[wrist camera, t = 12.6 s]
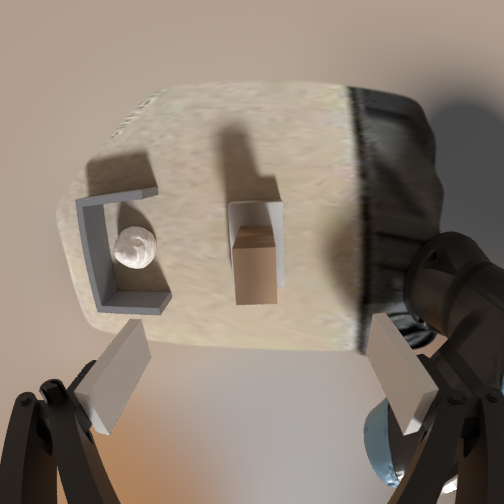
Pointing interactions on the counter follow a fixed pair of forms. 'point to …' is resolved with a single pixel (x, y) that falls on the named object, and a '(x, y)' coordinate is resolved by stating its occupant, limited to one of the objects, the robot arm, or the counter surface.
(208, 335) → the counter surface
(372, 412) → the robot arm
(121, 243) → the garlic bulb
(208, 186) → the counter surface
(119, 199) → the box
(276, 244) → the white-trimmed wooden block
